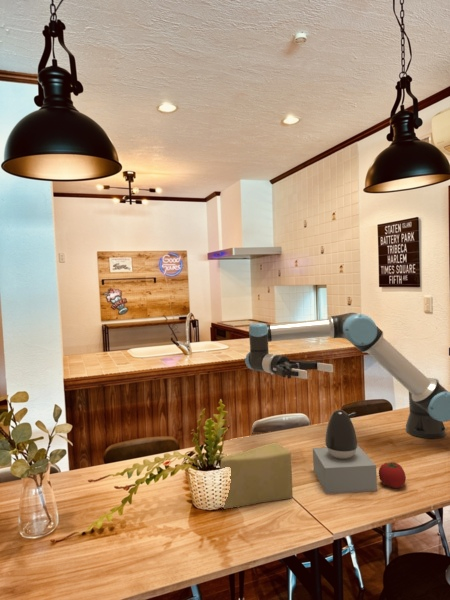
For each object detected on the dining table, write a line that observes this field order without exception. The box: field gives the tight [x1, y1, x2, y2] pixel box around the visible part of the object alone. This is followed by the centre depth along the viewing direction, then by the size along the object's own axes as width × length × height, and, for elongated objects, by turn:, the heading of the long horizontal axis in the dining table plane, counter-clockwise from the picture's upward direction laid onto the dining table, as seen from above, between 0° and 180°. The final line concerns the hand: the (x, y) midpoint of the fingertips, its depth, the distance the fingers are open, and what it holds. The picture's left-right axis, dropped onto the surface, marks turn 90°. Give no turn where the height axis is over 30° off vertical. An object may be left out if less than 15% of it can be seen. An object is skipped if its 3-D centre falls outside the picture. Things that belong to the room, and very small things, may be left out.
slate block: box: [312, 445, 378, 495], centre depth 130 cm, size 16×16×8 cm
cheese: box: [219, 442, 293, 510], centre depth 120 cm, size 22×10×15 cm, turn 112°
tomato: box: [378, 461, 407, 489], centre depth 125 cm, size 8×8×7 cm
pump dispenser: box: [324, 409, 359, 459], centre depth 130 cm, size 10×10×15 cm
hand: (320, 371), depth 135 cm, fingers open, 13 cm apart
